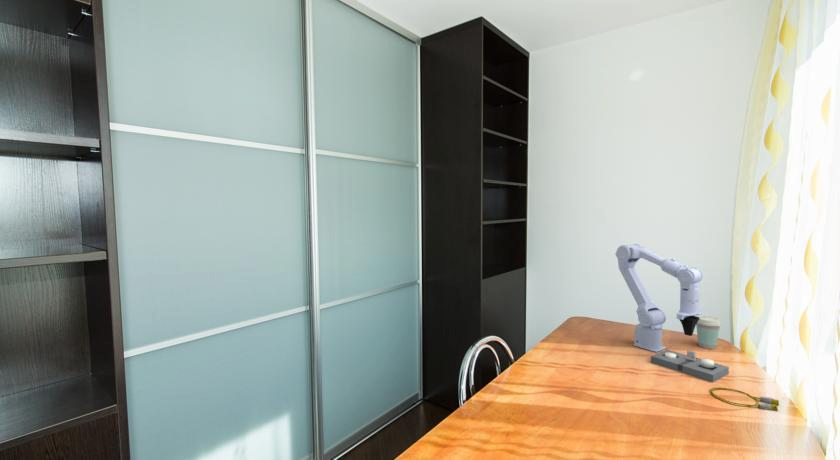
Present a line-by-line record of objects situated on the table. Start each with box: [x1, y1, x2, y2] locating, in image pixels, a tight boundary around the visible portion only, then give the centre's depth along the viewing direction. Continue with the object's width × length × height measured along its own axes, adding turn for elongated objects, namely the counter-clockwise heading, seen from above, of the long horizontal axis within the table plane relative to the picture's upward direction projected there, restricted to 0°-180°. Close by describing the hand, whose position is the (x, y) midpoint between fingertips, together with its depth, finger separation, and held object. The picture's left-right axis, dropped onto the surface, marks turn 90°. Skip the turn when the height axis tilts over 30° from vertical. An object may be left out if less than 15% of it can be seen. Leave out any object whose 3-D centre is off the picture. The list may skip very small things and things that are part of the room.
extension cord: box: [709, 386, 780, 412], centre depth 116 cm, size 12×16×2 cm
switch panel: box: [650, 349, 730, 383], centre depth 139 cm, size 20×12×2 cm, turn 32°
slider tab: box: [685, 350, 697, 361], centre depth 140 cm, size 3×2×3 cm
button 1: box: [665, 352, 676, 359], centre depth 144 cm, size 4×4×2 cm
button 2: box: [700, 357, 715, 368], centre depth 134 cm, size 4×4×2 cm
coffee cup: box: [695, 315, 721, 350], centre depth 160 cm, size 8×8×12 cm
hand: (688, 335), depth 147 cm, fingers closed
